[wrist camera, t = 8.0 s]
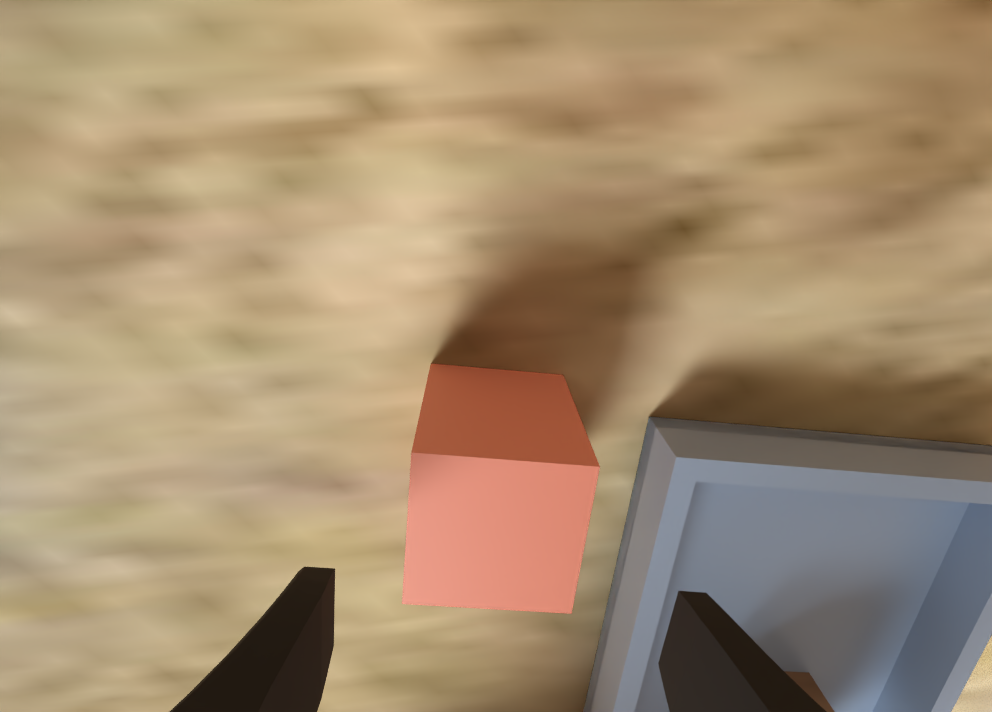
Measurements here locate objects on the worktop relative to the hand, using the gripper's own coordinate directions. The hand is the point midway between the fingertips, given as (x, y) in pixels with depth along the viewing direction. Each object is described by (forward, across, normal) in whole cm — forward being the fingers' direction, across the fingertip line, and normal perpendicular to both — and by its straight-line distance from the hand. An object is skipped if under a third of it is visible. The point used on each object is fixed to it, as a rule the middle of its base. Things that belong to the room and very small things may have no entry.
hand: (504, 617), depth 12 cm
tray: (+8, -12, +8) cm, 17 cm away
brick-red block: (+8, 0, 0) cm, 9 cm away
